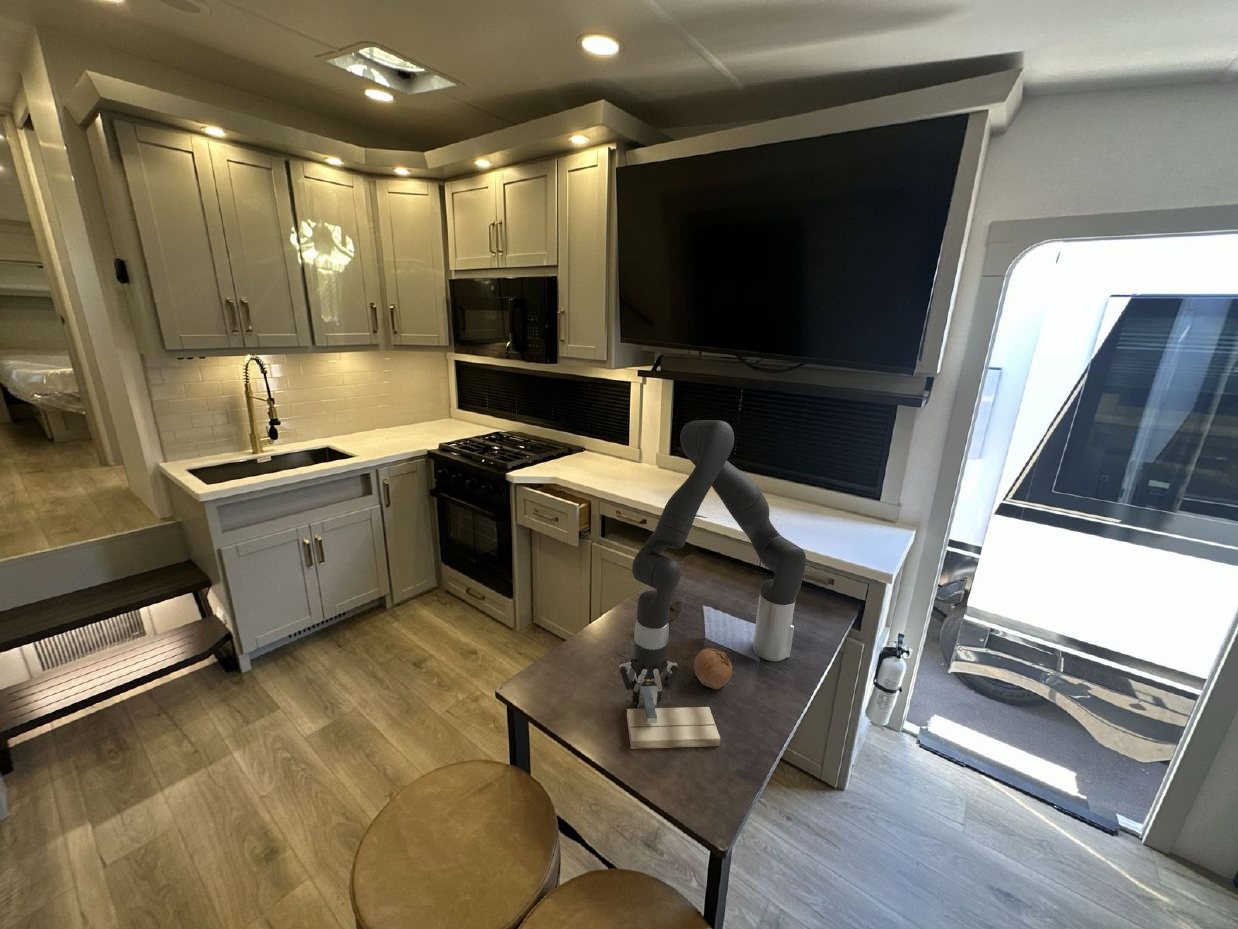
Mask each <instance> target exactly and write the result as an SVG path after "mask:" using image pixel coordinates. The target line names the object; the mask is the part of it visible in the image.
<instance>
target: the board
mask: <svg viewBox="0 0 1238 929" xmlns="http://www.w3.org/2000/svg"><path fill="white" fill-rule="evenodd" d="M655 711H656V715H657V723H650V724H647V719H646V713H645V709H638V708H626V720H627V721H626V722H627V729H628V736H629V737H628V738H629V743H630V750H631V749H632V750H637V749H640V750H641V749H643V750H644V749H665V748H666V749H667V748H668V749H670V748H672V749H673V748H699V747H701V748H702V747H720V745H721V736H720V733H719V731H718V728H717V724H716V723H715V720H714V717H713V713H712V710H711V708H710V706H697V707H696V706H695V707H694V706H693V707H687V706H686V707H656V708H655Z"/></svg>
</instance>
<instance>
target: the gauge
mask: <svg viewBox="0 0 1238 929" xmlns="http://www.w3.org/2000/svg"><path fill="white" fill-rule="evenodd" d="M657 692H658V684H656V682H655V679H650V678H648V679H644V680H643V683H642V685H641V684H640V688H639V703H638V705H636V706H637V709H645V713H646V719H647V724H650V723H657V715H656V711H655V708H657V705H658V704H657Z"/></svg>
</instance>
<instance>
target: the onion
mask: <svg viewBox="0 0 1238 929" xmlns="http://www.w3.org/2000/svg"><path fill="white" fill-rule="evenodd" d="M693 670H694V673H695V676H696V677H697V679H698V680H699V682H700V683H701V685H703V686H704V687H707V688H710V689H712V690H713V691H714V690H720V689H721V688H722V687H724V686H725V685H727V684H728V682H730V680H731V678H732V675H733V664H732V662H731V660H730V658H729V657H728V656H727V653H725V652H724V651H721V650H720V649H716V648H712V647H711V648H710V647H709V648H708V647H707V648H703V649H701V651H699V652H698V653H697V654H696V655H695V658H694V661H693Z"/></svg>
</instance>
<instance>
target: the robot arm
mask: <svg viewBox="0 0 1238 929" xmlns="http://www.w3.org/2000/svg"><path fill="white" fill-rule="evenodd" d="M679 436H680V437H679V438H680V439H679V441H680V446H681V448H682V450H683V451H682V452H683V453H684V454H685V456H686V457H687V458H688V459H689V461H690V462H691V463H692V464H693V465H694V466H695V467H694V469H693V470H692V471H691V473H690V474H689V476H688V477H687V478H686V480H685V481H684V482H683V483H682V484H681V486H679V487H678V488H677V490H676V491H675V492H674V493H673V494H672V495H671V496H670V498H669V499H668V501H667V502H666V504H665V506H664V508H663V510H662V512H661V515H660V518H659V520H658V522H657V524H656V527H655V530H654V531H653V533H652V534H651V535H650V536H649V538H648V539H647V540H646V541H645V543H644V544H643V546H642V547H641V548H640V549H639V551H638V552H637V554H636V555H635V557H634V559H633V562H632V565H631V566H632V567H631V570H632V571H631V573H632V575H633V578H634V579H635V580H636V581H637V582H640V583H642V584H643V585H646V586H648V587H651V588H653V589H655V590H647V591H643V592H641V593H640V594H639V597H638V600H637V608H636V609H637V610H636V620H635V626H634V635H633V636H634V637H633V650H632V651H633V653H632V657H631V658H630V661H628V662H627V661H626V662H624V661H619V664H618V665H619V670H620V674H621V678H622V680H623V684H624V687H625V689H626V690H627V691H630V690H632V691H631V692H632V693H631V699H632V700H631V701H632V702H633V703H634V704H635V705H636V706H637V705H638V703H639V688H640V684H641V685H642V683H643V680H644V679H648V678H650V679H655V682H656V684H658V692H657V704H656V705H659V702H661V701H662V696H663V694H662V693H663V690H664V689H666V690H669V689H670V688H671V687H672V685H673V683H674V681H675V679H676V676H677V674H678V672H679V671H680V669H679V666H678V662H677V661H676V660H672V661H668V659H667V654H668V644H669V641H668V640H669V638H670V637H669V635H670V634H669V633H670V632H669V629H670V627H669V622H668V619H669V608H670V604H672V600H673V598H674V595H675V592H676V590H677V588H678V587H679V586H678V585H679V584H680V581H681V576H682V570H681V566H680V564H679V563H678V562H677V561H676V560H675V559H673V558H670V557H668V556H665V555H663V554H662V553H663V552H664V551H665V550H666V549H682V548H683V547H684V546H685V543H686V541H687V539H688V536H689V534H690V531H691V529H692V526H693V524H694V521H695V519H696V516H697V515H698V512H699V509H700V507H701V506H702V503H703V501H704V499H705V498H706V496H707V495H708V493H709V491H710V490H711V488H712V489H713V491H714V492H715V493H716V495H717V496H718V497H719V499H720V500H721V502H722V503H723V505H724V506H725V508H726V510H727V511H728V513H729V514H730V515H731V516H732V518H733V520H734V521H735V522H736V523H737V525H738V526H739V527H740V529H741V530H742V532H744V534H745V535H746V536H747V537H748V540H749V541H750V543H751V544H752V546H753V548H754V551H755V552H756V555H757V557H758V558H759V560H760V562H761V563H762V564H763V565H764V567H766V568H767V569H768V570H770V571H771V572H773V573H774V576H773V579H767V580H765V581H762V583H761V585H760V591H759V598H758V605H757V613H756V619H755V620H756V621H755V625H754V626H755V627H754V633H753V641H752V651H753V652H754V654H756V655H757V656H758V657H759V658H761V659H763V660H767V661H770V662H781V661H784V660H785V659H786V658H790V657H791V650H792V645H793V638H794V631H795V626H794V625H793V618H794V616H793V615H794V611H795V607H796V606H795V605H796V600H797V596H798V594H799V592H800V590H801V587H802V583H803V578H804V574H805V571H806V563H807V556H806V552H805V550H804V549H803V548H802V547H800V546H798V545H797V544H795V543H794V542H792V541H791V540H789V539H787V538H785V537H784V536H782V535H781V534H780V532H778V530H777V529H776V528H775V527H774V525H773V524H772V522H771V520H770V506H769V504H768V500H767V499H766V497H765V496H764V494H763V492H762V491H761V489H760V487H759V486H758V485H757V484H756V482H754V480H753V479H751V478H750V477H749V476H748V475H747V474H745V473H744V472H743V471H741V470H740V469H739V468H737V467H736V466H734V465H733V464H732V463H730V462H729V461H728V458H729V457H730V455H731V453H732V451H733V448H734V445H735V434H734V431H733V428H732V426H731V425H730V424H729V423H728V422H726V421H723V420H720V419H719V420H716V419H714V420H712V419H711V420H709V419H708V420H707V419H706V420H705V419H704V420H692V421H689V422H687V423H686V424H685V425H683V427H682V429H681V431H680V435H679ZM631 669H632V670H633V671H634V676H633V678H632V679H633V680H631V679H630V676H629V673H630V670H631ZM665 669H667V671H666V672H665ZM663 672H665V675H664V677H663V679H662V680H661V676H660V675H661V674H662V673H663Z"/></svg>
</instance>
